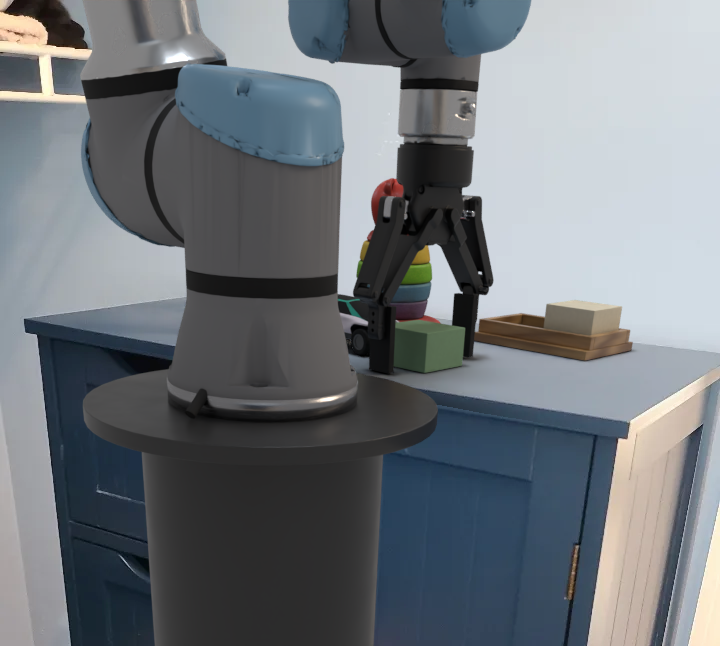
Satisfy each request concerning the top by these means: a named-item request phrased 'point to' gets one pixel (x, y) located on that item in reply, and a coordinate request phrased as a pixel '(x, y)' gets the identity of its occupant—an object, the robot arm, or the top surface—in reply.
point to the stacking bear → (418, 276)
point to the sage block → (428, 346)
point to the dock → (549, 337)
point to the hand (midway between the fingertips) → (422, 363)
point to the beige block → (582, 317)
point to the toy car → (355, 322)
